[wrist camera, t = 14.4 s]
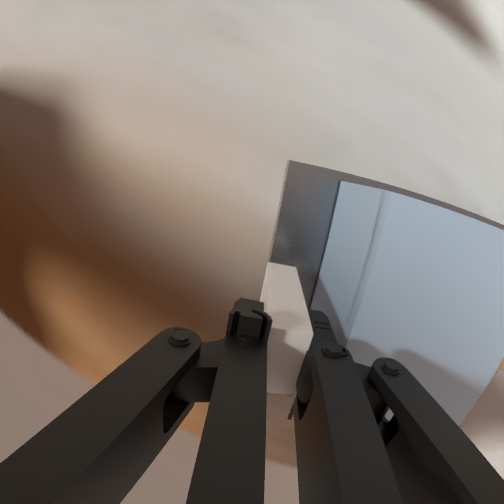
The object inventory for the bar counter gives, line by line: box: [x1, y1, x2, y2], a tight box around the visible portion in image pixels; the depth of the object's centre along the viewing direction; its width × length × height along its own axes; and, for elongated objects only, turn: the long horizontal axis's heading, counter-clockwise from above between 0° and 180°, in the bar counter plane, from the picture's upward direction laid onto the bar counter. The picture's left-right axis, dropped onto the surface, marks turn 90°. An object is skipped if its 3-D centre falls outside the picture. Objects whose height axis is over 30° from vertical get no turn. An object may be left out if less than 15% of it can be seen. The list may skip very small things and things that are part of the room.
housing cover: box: [296, 181, 504, 427], centre depth 14 cm, size 10×12×7 cm
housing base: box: [268, 160, 504, 376], centre depth 17 cm, size 20×13×4 cm, turn 80°
